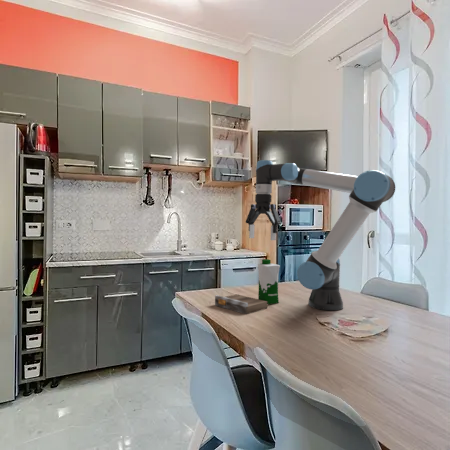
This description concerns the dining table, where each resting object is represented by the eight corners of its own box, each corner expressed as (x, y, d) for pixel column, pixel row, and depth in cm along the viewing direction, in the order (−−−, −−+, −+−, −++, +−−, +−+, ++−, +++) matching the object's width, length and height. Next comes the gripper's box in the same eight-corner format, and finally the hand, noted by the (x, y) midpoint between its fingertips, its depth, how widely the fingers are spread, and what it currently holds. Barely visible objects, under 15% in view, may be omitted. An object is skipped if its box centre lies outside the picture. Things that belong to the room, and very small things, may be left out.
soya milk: (270, 299, 162) (271, 258, 162) (281, 303, 154) (282, 260, 154) (255, 300, 158) (256, 259, 158) (266, 305, 150) (266, 261, 150)
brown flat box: (267, 308, 145) (267, 298, 145) (244, 314, 135) (244, 303, 135) (236, 300, 159) (236, 291, 159) (214, 305, 149) (214, 295, 149)
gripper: (239, 194, 161) (238, 237, 162) (279, 192, 142) (277, 241, 143) (250, 195, 166) (248, 237, 167) (289, 193, 147) (288, 240, 148)
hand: (262, 239), depth 155 cm, fingers open, 13 cm apart
